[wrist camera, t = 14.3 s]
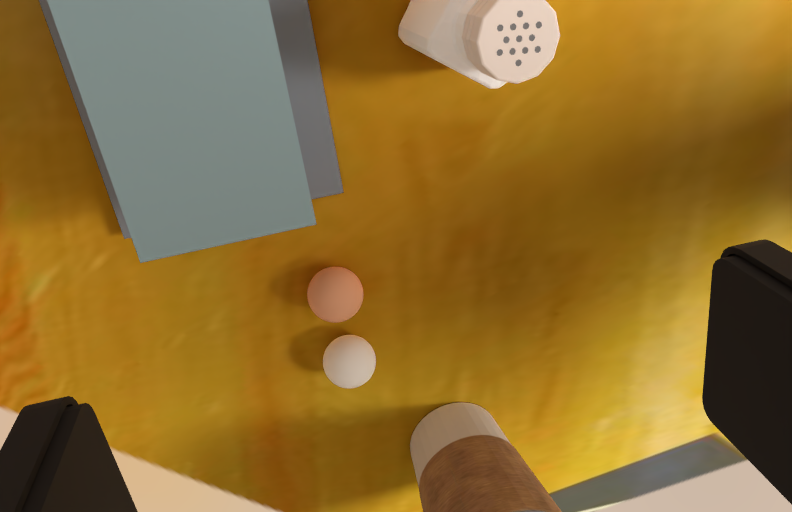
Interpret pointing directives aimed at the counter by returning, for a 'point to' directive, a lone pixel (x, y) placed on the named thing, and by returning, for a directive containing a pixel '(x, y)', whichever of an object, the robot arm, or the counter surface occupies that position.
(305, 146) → the plate
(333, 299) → the terracotta ball
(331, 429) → the counter surface
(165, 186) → the sage green block
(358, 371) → the cream ball
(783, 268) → the robot arm
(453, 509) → the coffee cup
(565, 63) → the counter surface
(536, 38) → the pepper shaker
